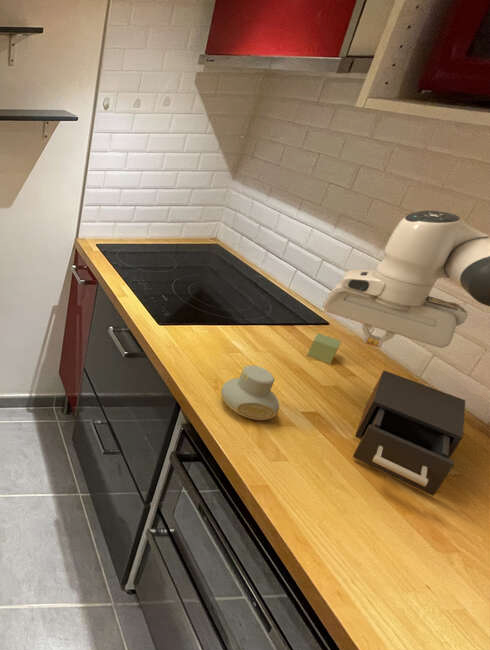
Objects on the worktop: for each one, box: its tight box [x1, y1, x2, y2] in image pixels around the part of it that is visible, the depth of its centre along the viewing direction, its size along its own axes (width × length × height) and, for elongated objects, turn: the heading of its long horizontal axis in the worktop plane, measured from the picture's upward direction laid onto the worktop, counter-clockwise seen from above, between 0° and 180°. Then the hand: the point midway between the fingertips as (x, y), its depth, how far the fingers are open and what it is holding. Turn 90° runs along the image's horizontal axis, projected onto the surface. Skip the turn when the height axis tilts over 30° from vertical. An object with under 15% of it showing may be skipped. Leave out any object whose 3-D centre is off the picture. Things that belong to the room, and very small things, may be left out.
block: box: [307, 333, 342, 365], centre depth 118 cm, size 5×5×5 cm
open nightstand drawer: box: [352, 407, 455, 497], centre depth 85 cm, size 18×11×8 cm, turn 132°
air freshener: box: [221, 365, 280, 421], centre depth 98 cm, size 11×8×10 cm
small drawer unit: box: [354, 369, 466, 459], centre depth 92 cm, size 15×13×10 cm
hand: (371, 344), depth 97 cm, fingers closed
